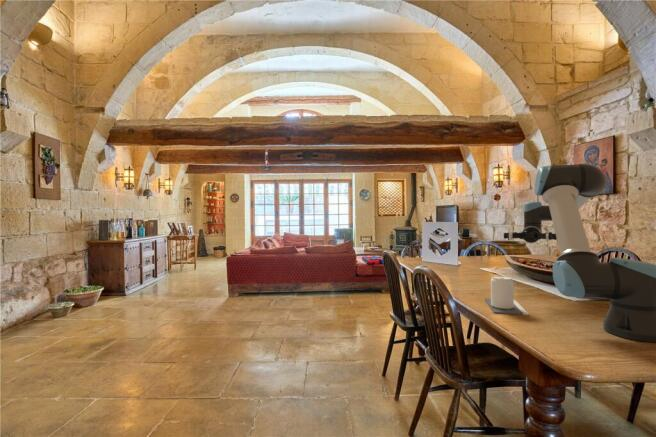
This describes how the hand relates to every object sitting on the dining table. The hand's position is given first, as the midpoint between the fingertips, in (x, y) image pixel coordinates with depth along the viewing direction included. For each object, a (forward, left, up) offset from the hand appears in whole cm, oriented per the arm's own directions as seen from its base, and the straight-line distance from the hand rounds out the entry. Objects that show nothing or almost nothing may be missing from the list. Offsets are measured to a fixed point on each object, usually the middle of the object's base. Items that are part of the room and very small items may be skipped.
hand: (527, 237), depth 141 cm
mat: (-9, +11, -28) cm, 31 cm away
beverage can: (-12, +13, -27) cm, 32 cm away
